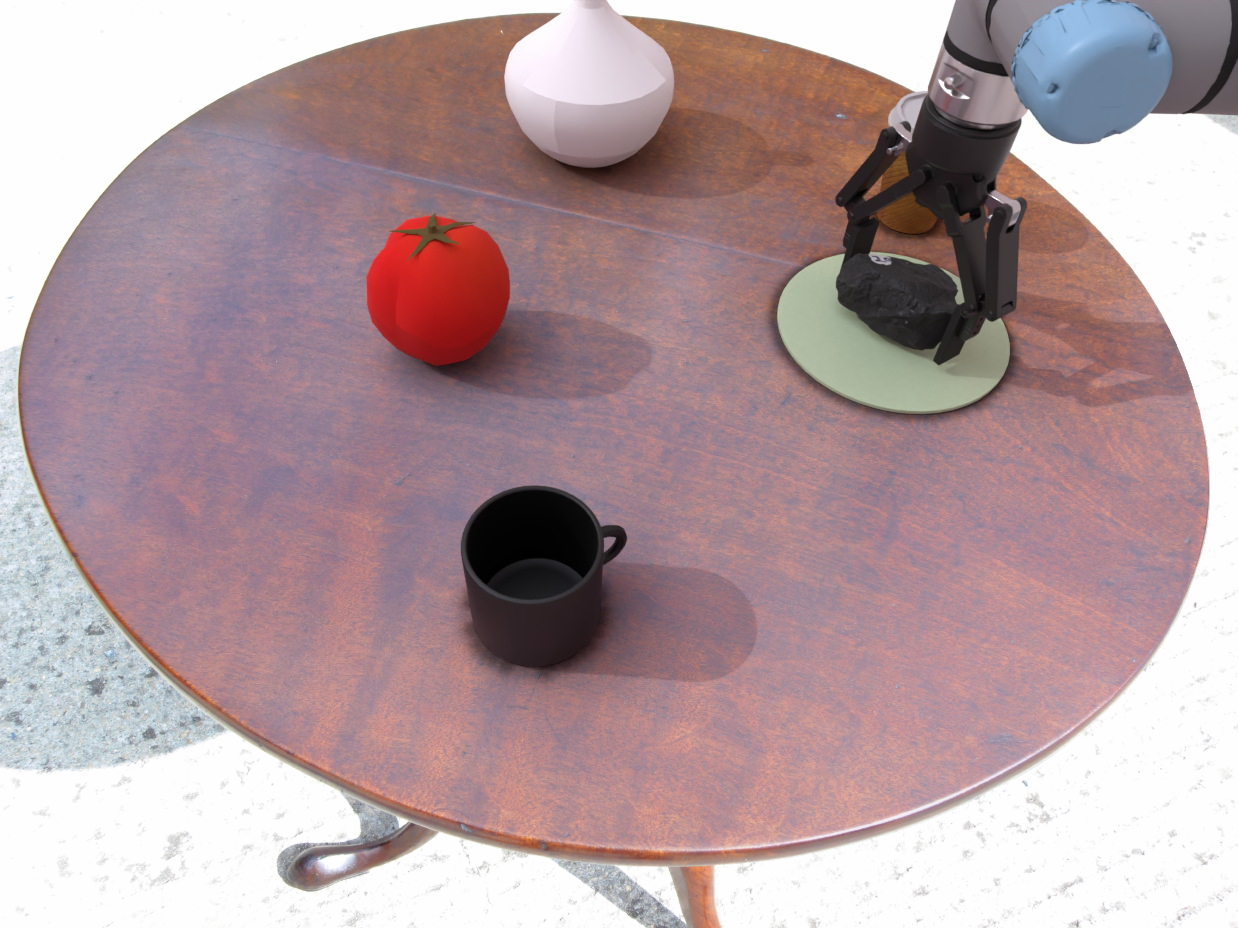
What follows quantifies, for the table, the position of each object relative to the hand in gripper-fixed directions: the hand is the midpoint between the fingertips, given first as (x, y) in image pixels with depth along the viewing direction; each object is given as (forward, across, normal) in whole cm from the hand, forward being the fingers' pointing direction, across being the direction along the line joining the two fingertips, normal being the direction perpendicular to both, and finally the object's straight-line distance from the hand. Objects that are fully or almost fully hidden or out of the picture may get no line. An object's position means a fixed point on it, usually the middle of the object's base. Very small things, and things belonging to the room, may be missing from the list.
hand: (895, 317), depth 87 cm
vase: (+2, -41, -8) cm, 42 cm away
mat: (+1, 0, 0) cm, 1 cm away
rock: (0, 0, 0) cm, 0 cm away
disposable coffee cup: (+2, -12, +14) cm, 19 cm away
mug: (+2, +8, -43) cm, 44 cm away
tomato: (+2, -20, -37) cm, 42 cm away
